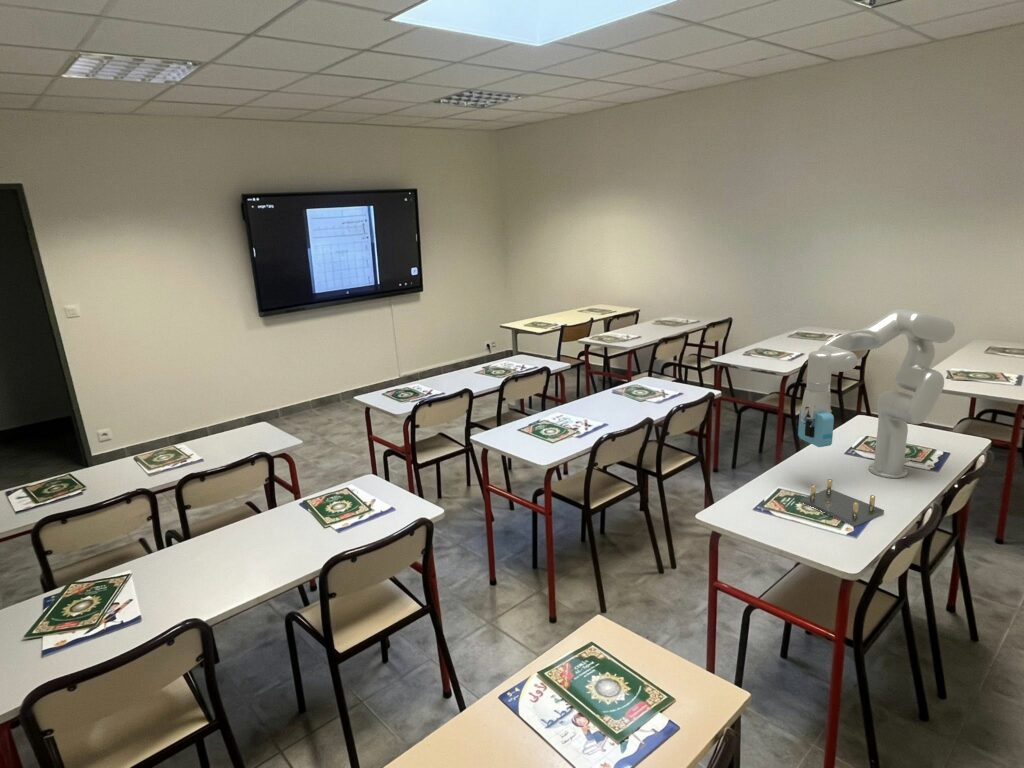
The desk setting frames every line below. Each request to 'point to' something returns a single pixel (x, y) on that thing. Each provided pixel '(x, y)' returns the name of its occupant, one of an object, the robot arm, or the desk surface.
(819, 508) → the plate
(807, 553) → the desk surface
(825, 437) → the data package
